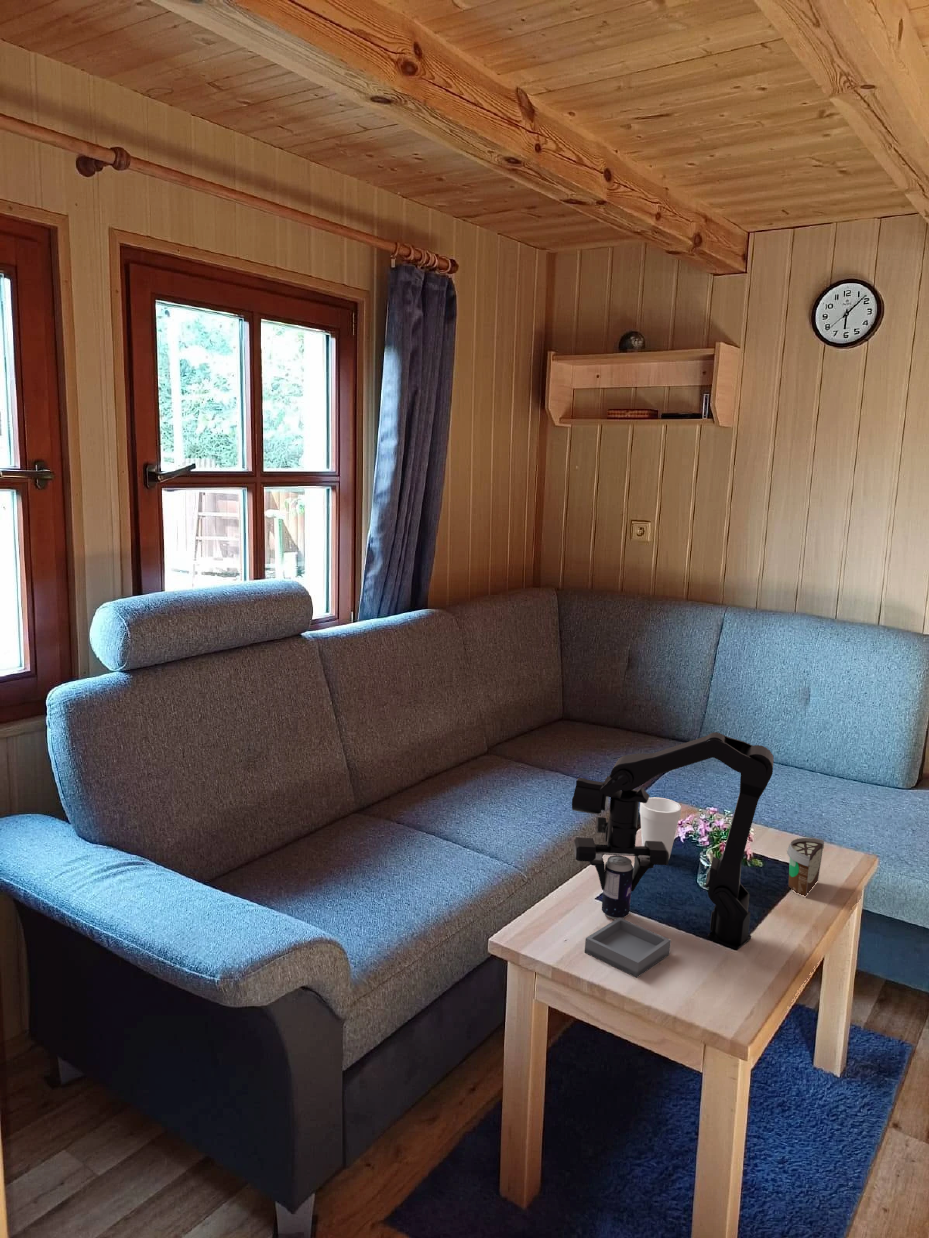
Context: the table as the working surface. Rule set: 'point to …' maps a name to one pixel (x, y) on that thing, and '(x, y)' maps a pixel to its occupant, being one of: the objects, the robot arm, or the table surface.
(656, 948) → the tray
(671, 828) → the foam cup
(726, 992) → the table surface
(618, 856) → the beverage can
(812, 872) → the food container
